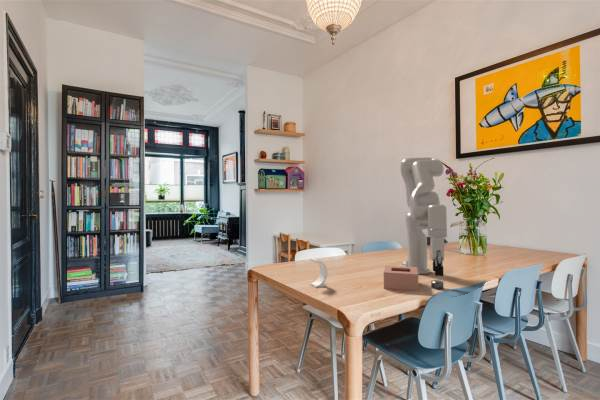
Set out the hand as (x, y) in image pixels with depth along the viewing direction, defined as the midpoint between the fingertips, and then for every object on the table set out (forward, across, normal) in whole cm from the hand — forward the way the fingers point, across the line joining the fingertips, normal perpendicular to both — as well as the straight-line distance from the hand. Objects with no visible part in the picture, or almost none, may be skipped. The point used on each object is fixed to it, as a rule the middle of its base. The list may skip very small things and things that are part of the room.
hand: (437, 273), depth 139 cm
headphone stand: (+7, +9, -50) cm, 51 cm away
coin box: (+6, -1, -15) cm, 17 cm away
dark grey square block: (+7, -1, 0) cm, 7 cm away
